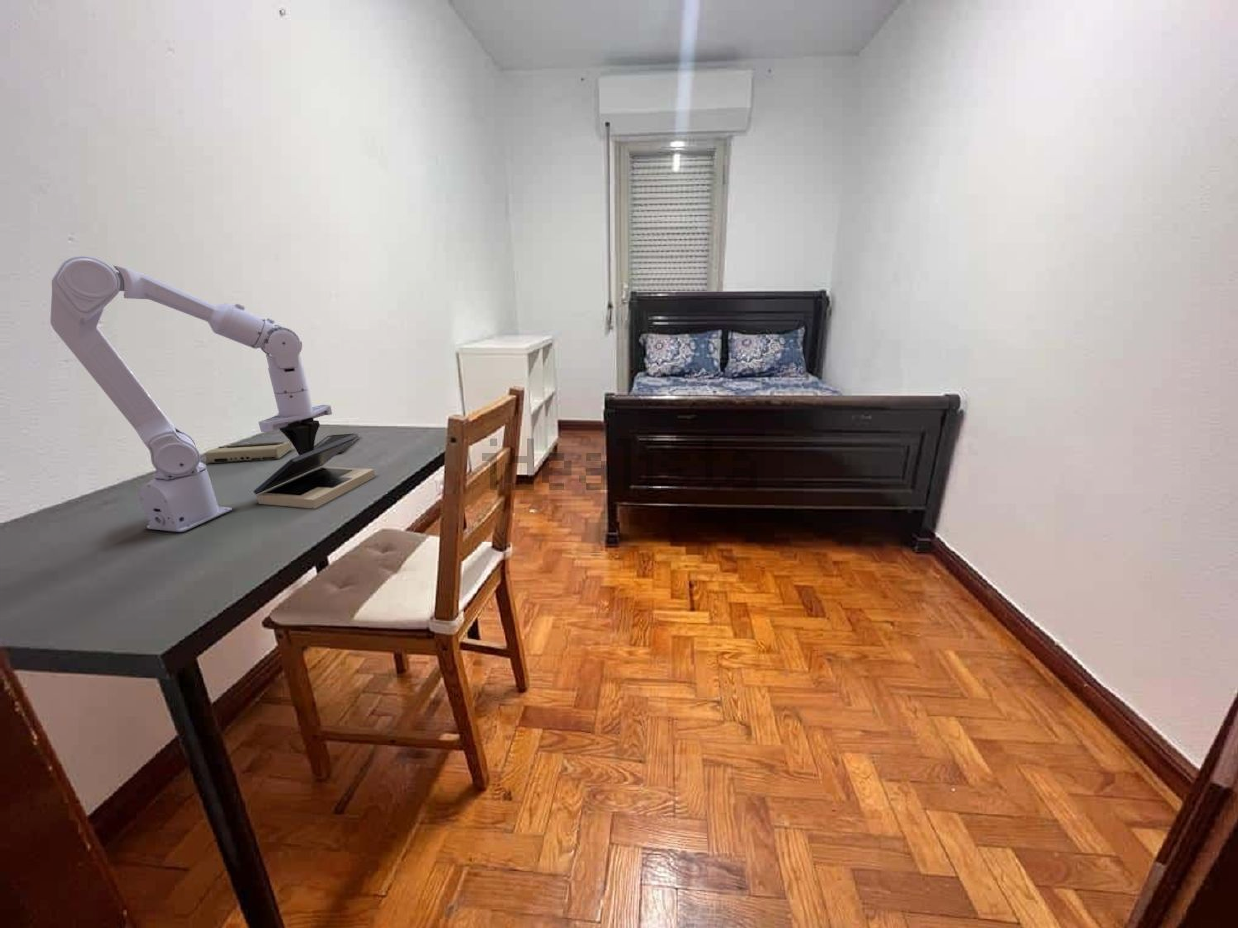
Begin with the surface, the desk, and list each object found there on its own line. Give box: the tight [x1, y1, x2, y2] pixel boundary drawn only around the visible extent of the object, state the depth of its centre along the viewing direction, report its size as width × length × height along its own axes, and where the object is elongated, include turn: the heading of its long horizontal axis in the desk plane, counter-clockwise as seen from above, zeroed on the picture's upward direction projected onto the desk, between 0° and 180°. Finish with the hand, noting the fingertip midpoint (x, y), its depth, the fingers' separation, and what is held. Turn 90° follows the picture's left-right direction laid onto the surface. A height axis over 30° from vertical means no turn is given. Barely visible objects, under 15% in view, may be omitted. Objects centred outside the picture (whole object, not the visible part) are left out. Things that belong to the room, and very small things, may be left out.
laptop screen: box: [253, 433, 359, 495], centre depth 104 cm, size 13×17×1 cm
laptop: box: [255, 465, 376, 510], centre depth 105 cm, size 13×17×2 cm
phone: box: [314, 433, 359, 455], centre depth 134 cm, size 8×1×15 cm
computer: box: [205, 441, 292, 464], centre depth 127 cm, size 16×8×3 cm, turn 99°
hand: (307, 457), depth 104 cm, fingers closed, pressing on laptop screen
